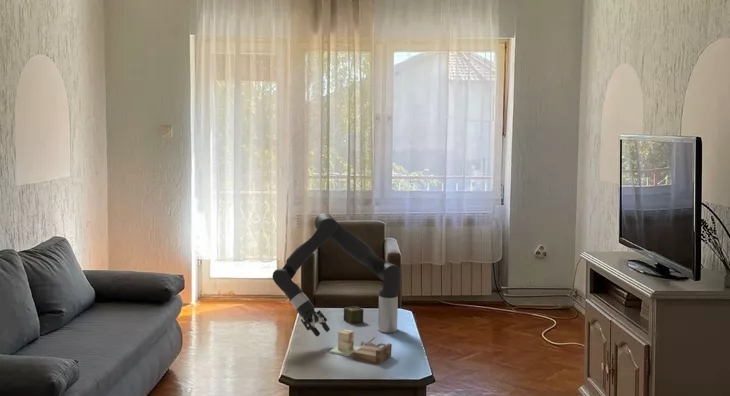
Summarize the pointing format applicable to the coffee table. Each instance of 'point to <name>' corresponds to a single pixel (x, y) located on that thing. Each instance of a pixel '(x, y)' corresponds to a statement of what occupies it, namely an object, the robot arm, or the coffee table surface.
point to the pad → (344, 351)
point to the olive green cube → (353, 315)
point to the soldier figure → (372, 343)
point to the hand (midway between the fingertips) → (323, 333)
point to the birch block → (345, 340)
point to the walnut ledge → (373, 353)
